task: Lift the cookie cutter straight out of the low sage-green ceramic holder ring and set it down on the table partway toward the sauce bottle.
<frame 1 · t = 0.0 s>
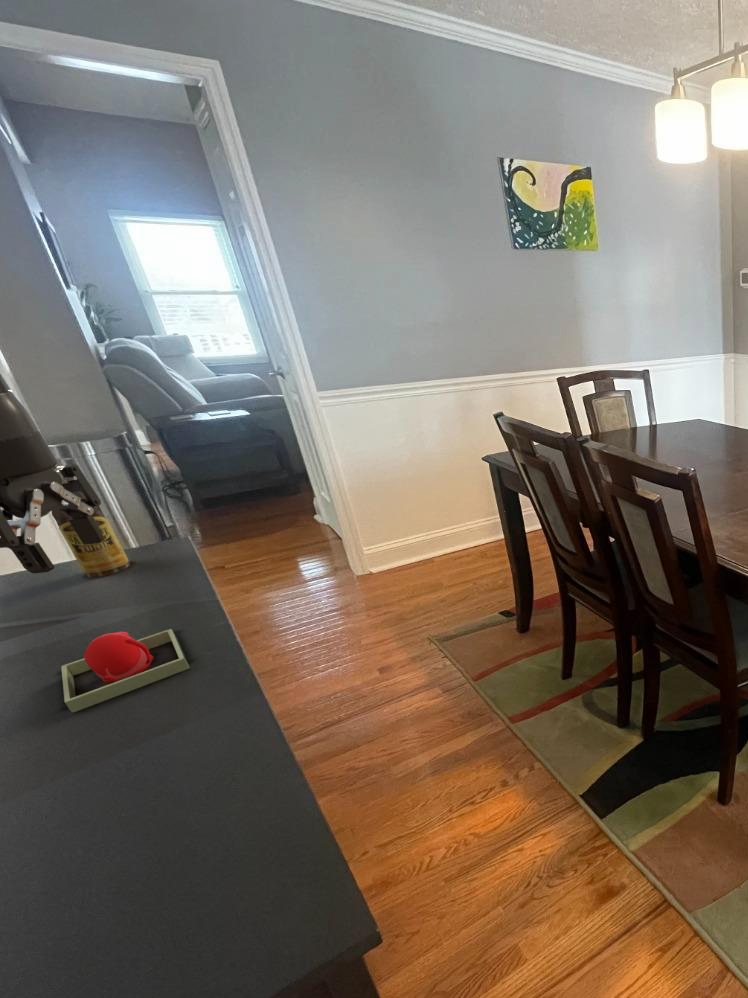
hand: (70, 556, 78), 18 cm above the table, tool pointing down, fingers open, 8 cm apart
cookie cutter: (130, 673, 85), resting in holder
sauce bottle: (113, 574, 114), on the table
holder: (129, 672, 85), on the table
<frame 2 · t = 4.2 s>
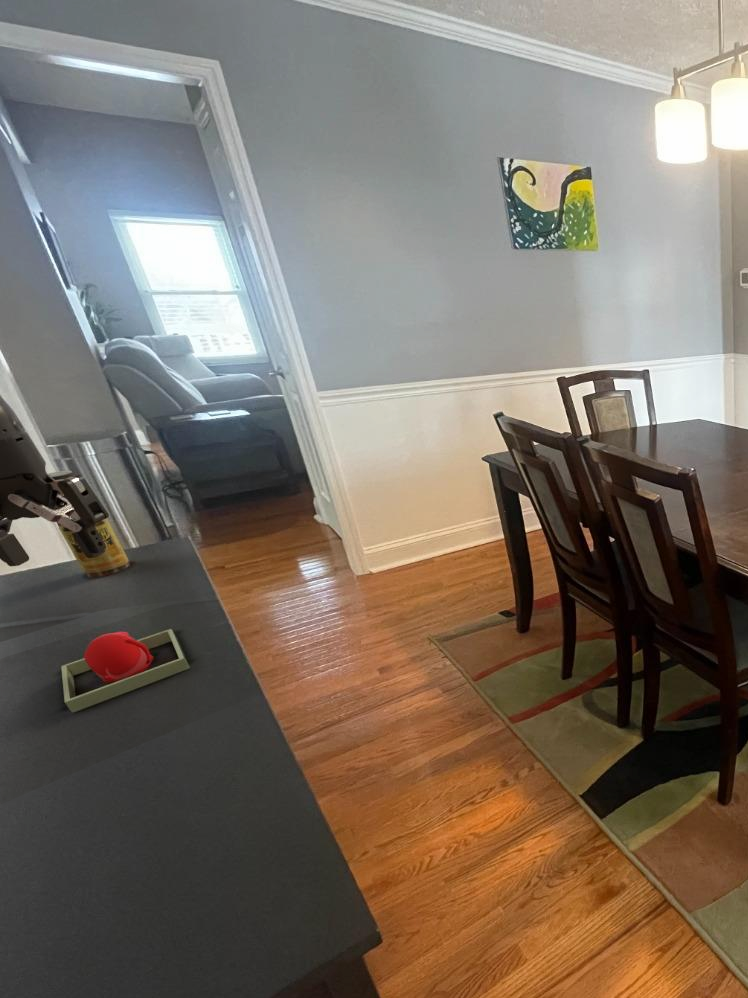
hand: (59, 559, 77), 18 cm above the table, tool pointing down, fingers open, 8 cm apart
nothing on the table moved.
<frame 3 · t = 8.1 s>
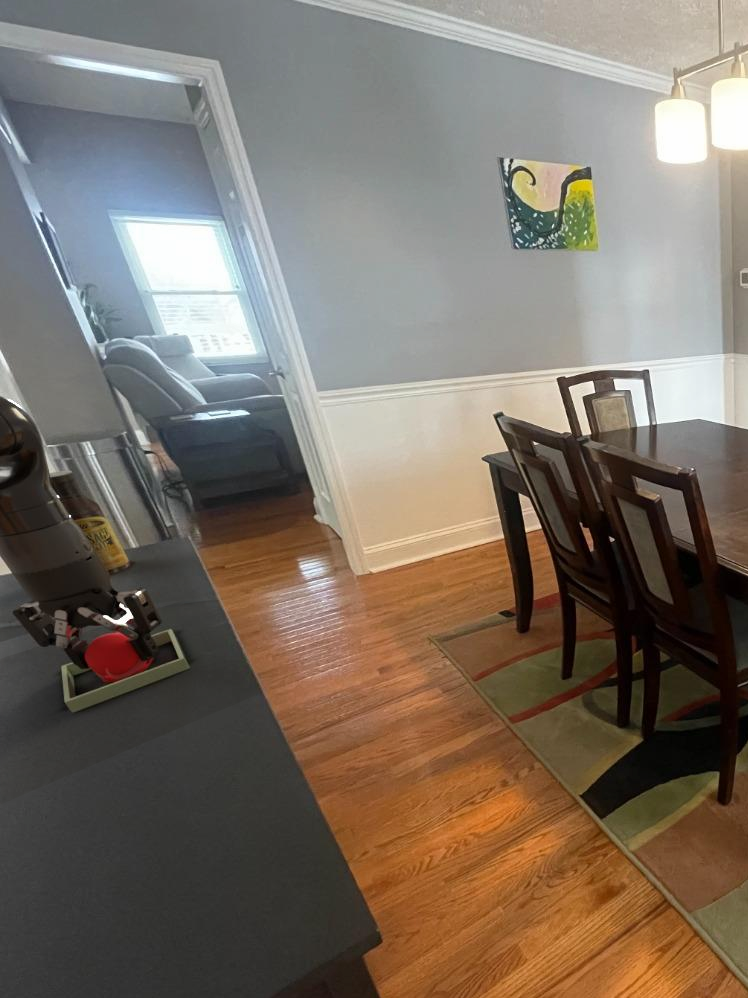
hand: (120, 661, 84), 2 cm above the table, tool pointing down, fingers closed on cookie cutter, 7 cm apart
cookie cutter: (130, 673, 85), resting in holder, touching gripper
everything else where it was.
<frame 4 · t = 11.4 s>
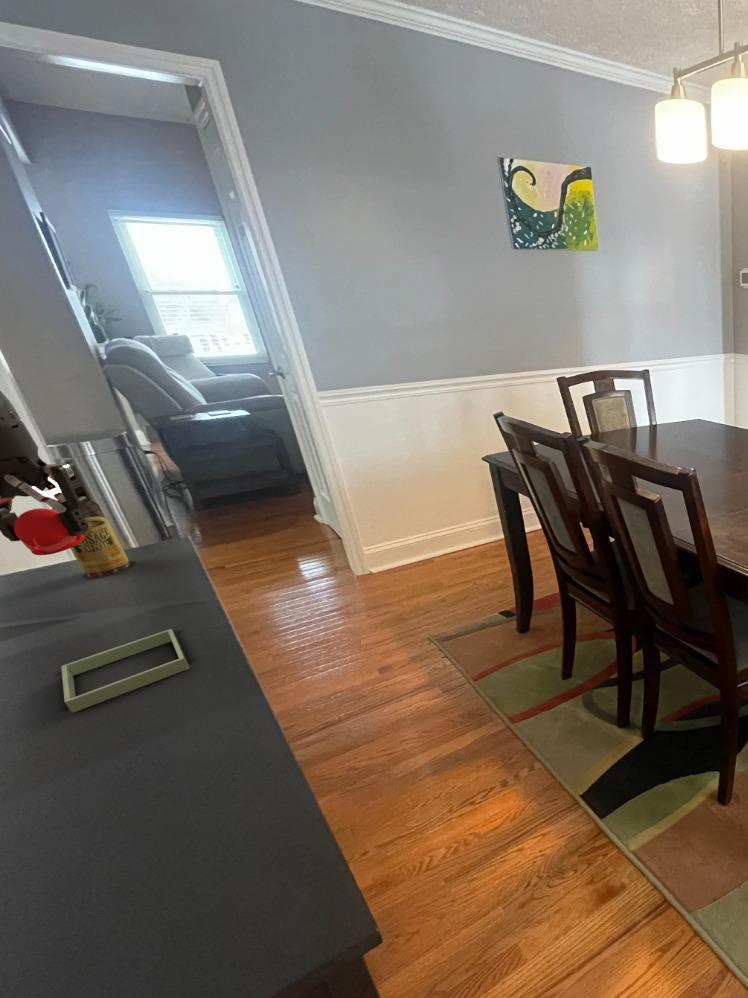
hand: (50, 536, 86), 17 cm above the table, tool pointing down, fingers closed on cookie cutter, 6 cm apart
cookie cutter: (60, 549, 87), point 15 cm above the table, touching gripper
everything else where it was.
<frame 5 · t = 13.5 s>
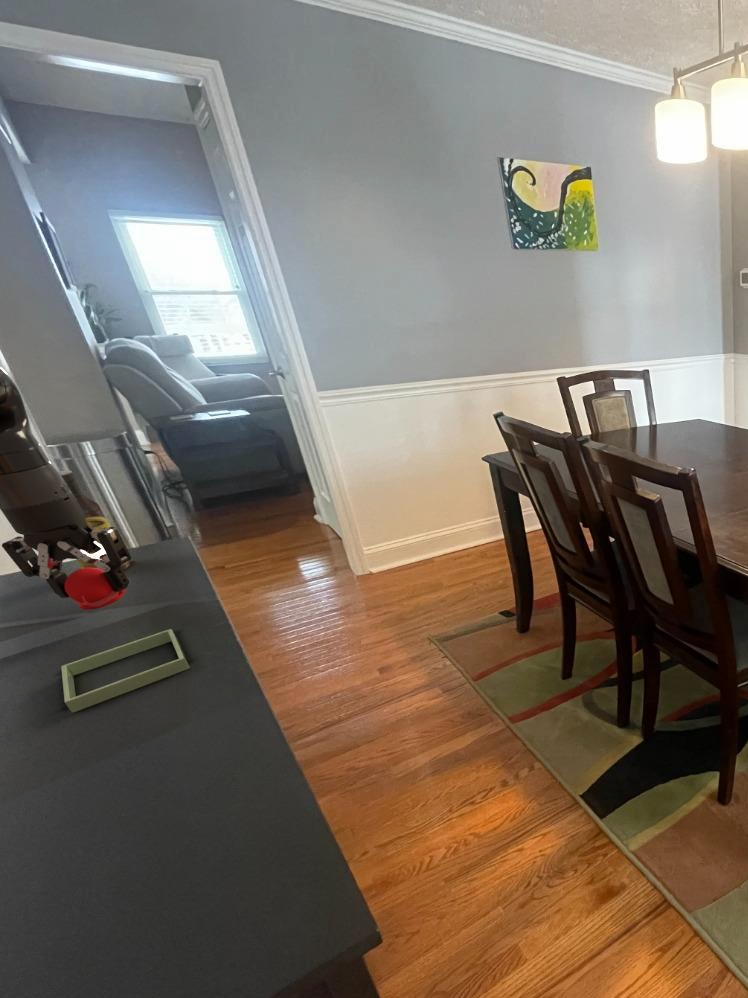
hand: (96, 592, 97), 5 cm above the table, tool pointing down, fingers closed on cookie cutter, 6 cm apart
cookie cutter: (104, 603, 98), point 3 cm above the table, touching gripper
everything else where it was.
when the fingers open (2 cm above the table, at t = 15.0 s): cookie cutter stays where it is, on the table.
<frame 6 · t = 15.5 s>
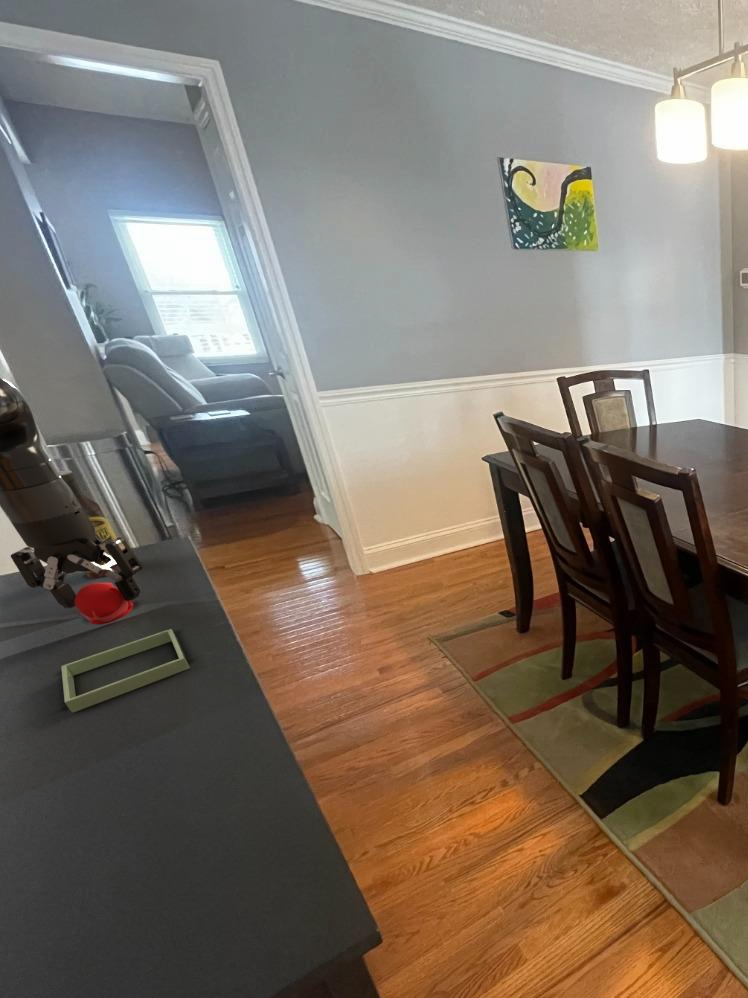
hand: (103, 602, 98), 3 cm above the table, tool pointing down, fingers open, 8 cm apart
cookie cutter: (113, 617, 99), on the table
everything else where it was.
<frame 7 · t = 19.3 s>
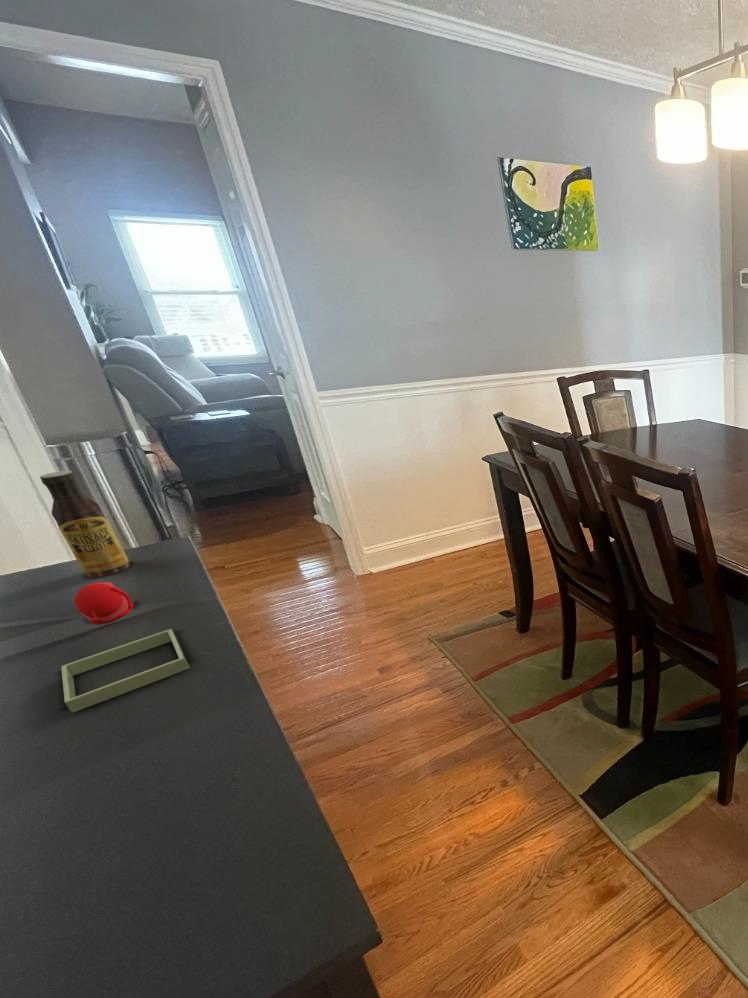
nothing on the table moved.
at the end: cookie cutter inside the target area on the table beside the sauce bottle (0.1 cm from its centre), on the table; the gripper is holding nothing; sauce bottle moved 0.2 cm from its start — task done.
